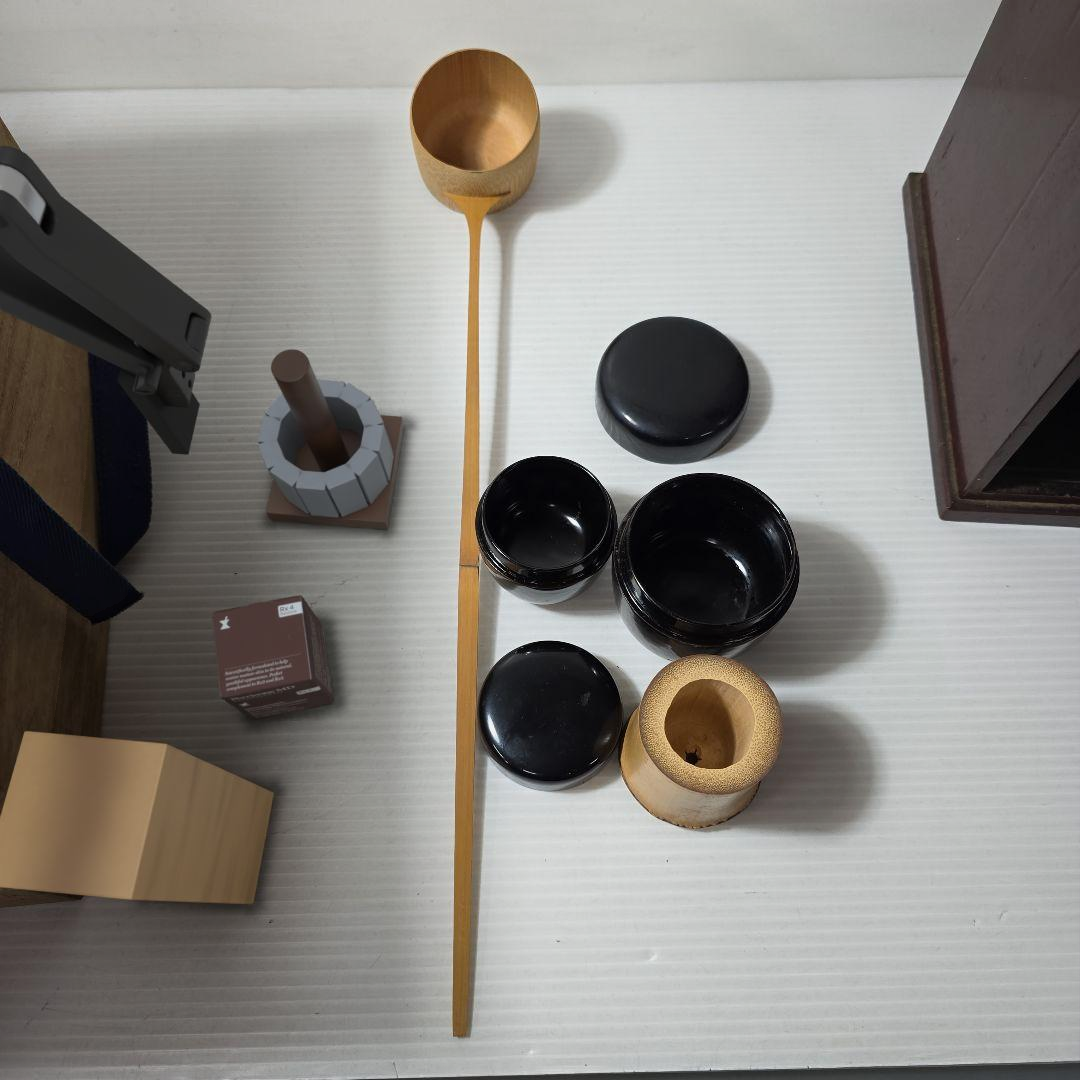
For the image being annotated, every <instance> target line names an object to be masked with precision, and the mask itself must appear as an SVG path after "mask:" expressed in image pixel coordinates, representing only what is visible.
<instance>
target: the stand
mask: <svg viewBox="0 0 1080 1080" xmlns="http://www.w3.org/2000/svg"><path fill="white" fill-rule="evenodd" d="M10 778H11V779H10V782H9V784H8V788H7V791H6V794H5V799H4V803H3V805H2V809H1V813H0V888H3V889H4V888H5V889H15V890H23V891H24V890H25V891H35V892H45V893H56V894H58V893H59V894H67V895H77V896H86V897H97V898H107V899H108V898H109V899H119V900H129V901H149V902H150V901H152V902H153V901H154V902H180V903H204V904H205V903H206V904H209V903H210V904H233V905H235V904H236V905H254V902H255V897H256V893H257V887H258V882H259V877H260V871H261V865H262V860H263V856H264V855H263V854H264V849H265V843H266V838H267V834H268V833H267V832H268V827H269V824H270V823H269V822H270V817H271V811H272V806H273V800H274V795H275V793H274V791H271V790H270V789H266V788H264V787H262V786H260V785H258V784H256V783H254V782H252V781H250V780H247V779H245V778H242V777H241V776H238V775H237V774H234V773H233V772H229V771H228V770H225V769H223V768H221V767H219V766H216V765H214V764H212V763H209V762H208V761H205V760H204V759H201V758H199V757H196V756H194V755H192V754H190V753H188V752H186V751H183V750H181V749H179V748H177V747H174V746H172V745H170V744H168V743H161V742H153V741H152V742H151V741H141V740H129V739H118V738H108V737H95V736H87V735H86V736H85V735H75V734H64V733H53V732H52V733H51V732H43V731H42V732H40V731H30V730H26V731H24V733H23V736H22V739H21V743H20V746H19V749H18V754H17V756H16V761H15V764H14V767H13V770H12V775H11V777H10Z"/></svg>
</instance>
